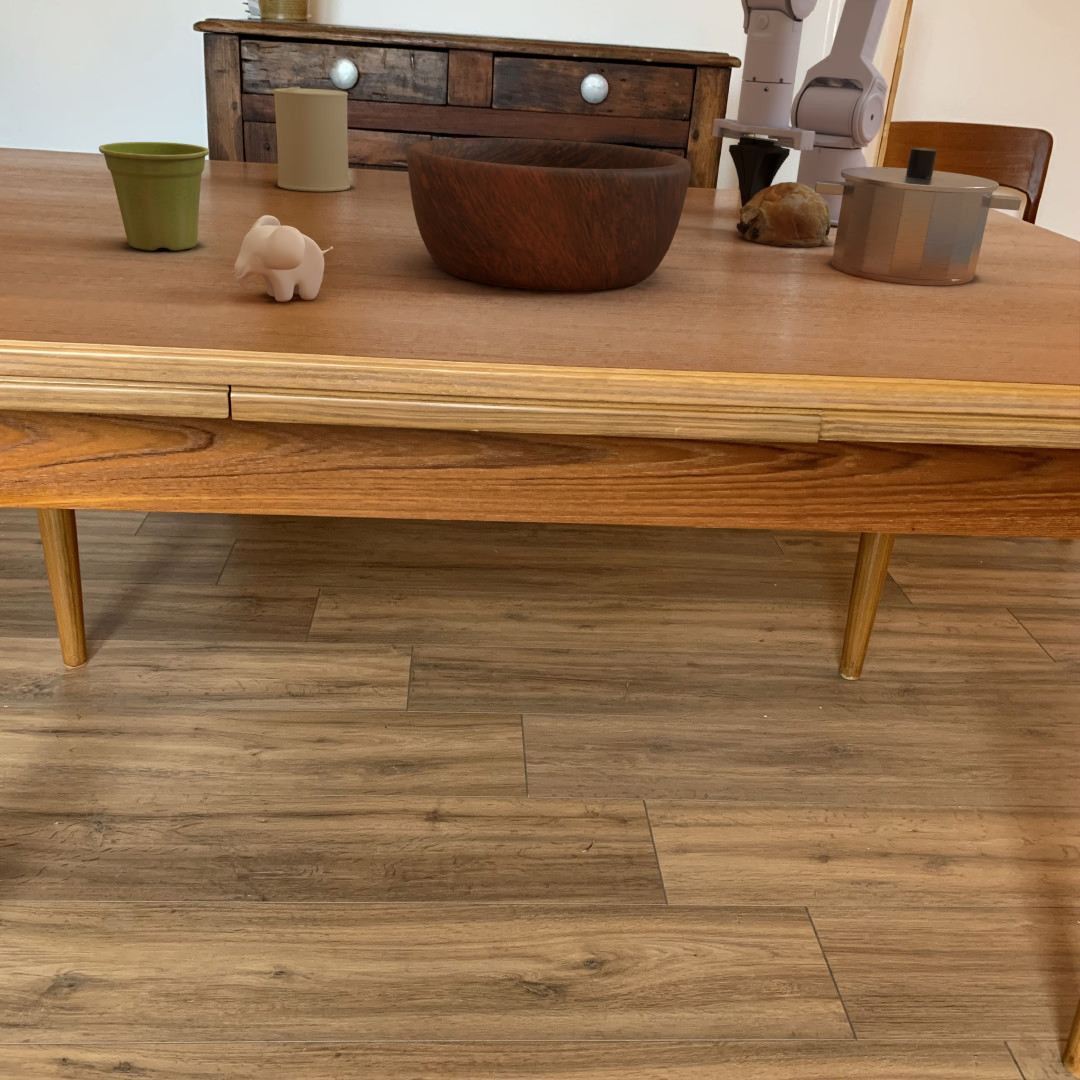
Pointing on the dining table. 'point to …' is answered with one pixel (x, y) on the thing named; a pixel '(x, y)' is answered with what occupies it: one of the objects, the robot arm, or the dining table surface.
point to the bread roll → (786, 216)
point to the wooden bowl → (546, 210)
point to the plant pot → (157, 191)
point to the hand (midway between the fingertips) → (751, 210)
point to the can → (312, 139)
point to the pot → (910, 232)
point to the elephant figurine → (280, 260)
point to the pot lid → (920, 176)
